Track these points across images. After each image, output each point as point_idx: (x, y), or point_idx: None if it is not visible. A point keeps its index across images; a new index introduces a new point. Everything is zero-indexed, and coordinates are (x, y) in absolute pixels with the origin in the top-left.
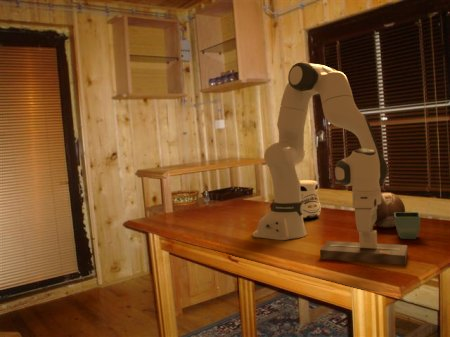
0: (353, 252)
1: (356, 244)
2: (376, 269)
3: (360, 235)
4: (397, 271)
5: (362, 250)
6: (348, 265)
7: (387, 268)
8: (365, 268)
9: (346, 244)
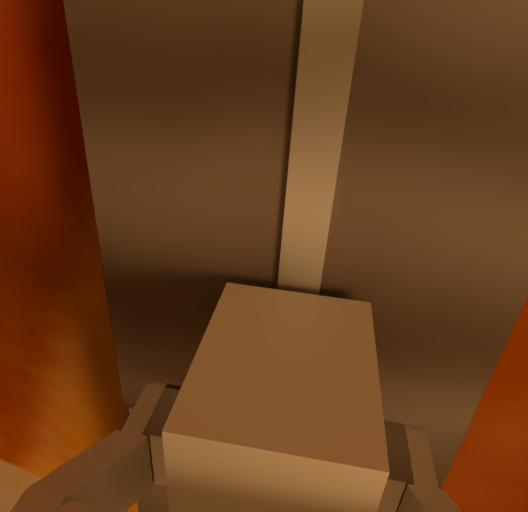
0: (96, 213)
1: (435, 239)
2: (24, 325)
3: (179, 406)
4: (44, 413)
5: (185, 296)
6: (14, 141)
7: (71, 378)
8: (9, 265)
9: (439, 106)
